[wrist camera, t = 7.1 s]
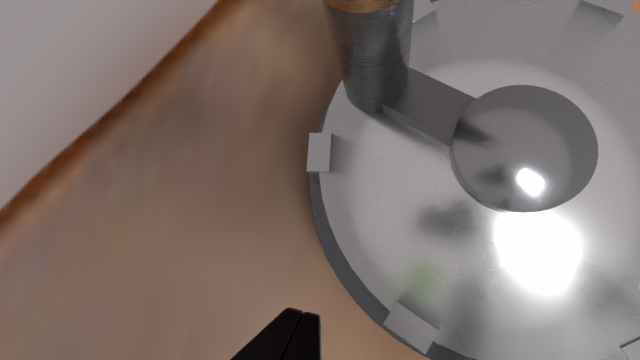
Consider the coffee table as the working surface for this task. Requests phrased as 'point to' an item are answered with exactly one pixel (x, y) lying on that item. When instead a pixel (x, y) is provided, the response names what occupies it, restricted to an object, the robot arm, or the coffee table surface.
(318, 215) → the plate
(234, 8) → the coffee table surface
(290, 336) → the robot arm
